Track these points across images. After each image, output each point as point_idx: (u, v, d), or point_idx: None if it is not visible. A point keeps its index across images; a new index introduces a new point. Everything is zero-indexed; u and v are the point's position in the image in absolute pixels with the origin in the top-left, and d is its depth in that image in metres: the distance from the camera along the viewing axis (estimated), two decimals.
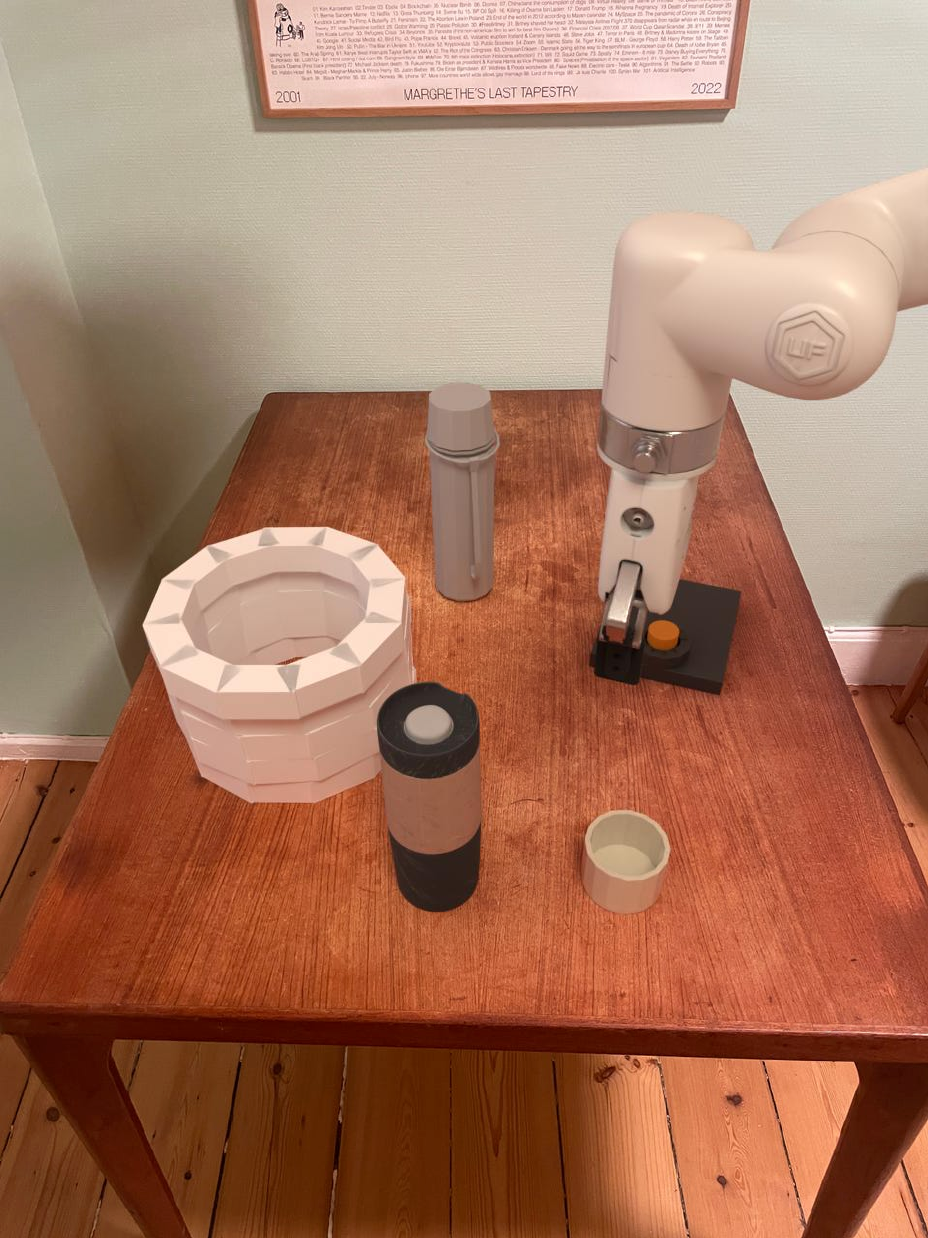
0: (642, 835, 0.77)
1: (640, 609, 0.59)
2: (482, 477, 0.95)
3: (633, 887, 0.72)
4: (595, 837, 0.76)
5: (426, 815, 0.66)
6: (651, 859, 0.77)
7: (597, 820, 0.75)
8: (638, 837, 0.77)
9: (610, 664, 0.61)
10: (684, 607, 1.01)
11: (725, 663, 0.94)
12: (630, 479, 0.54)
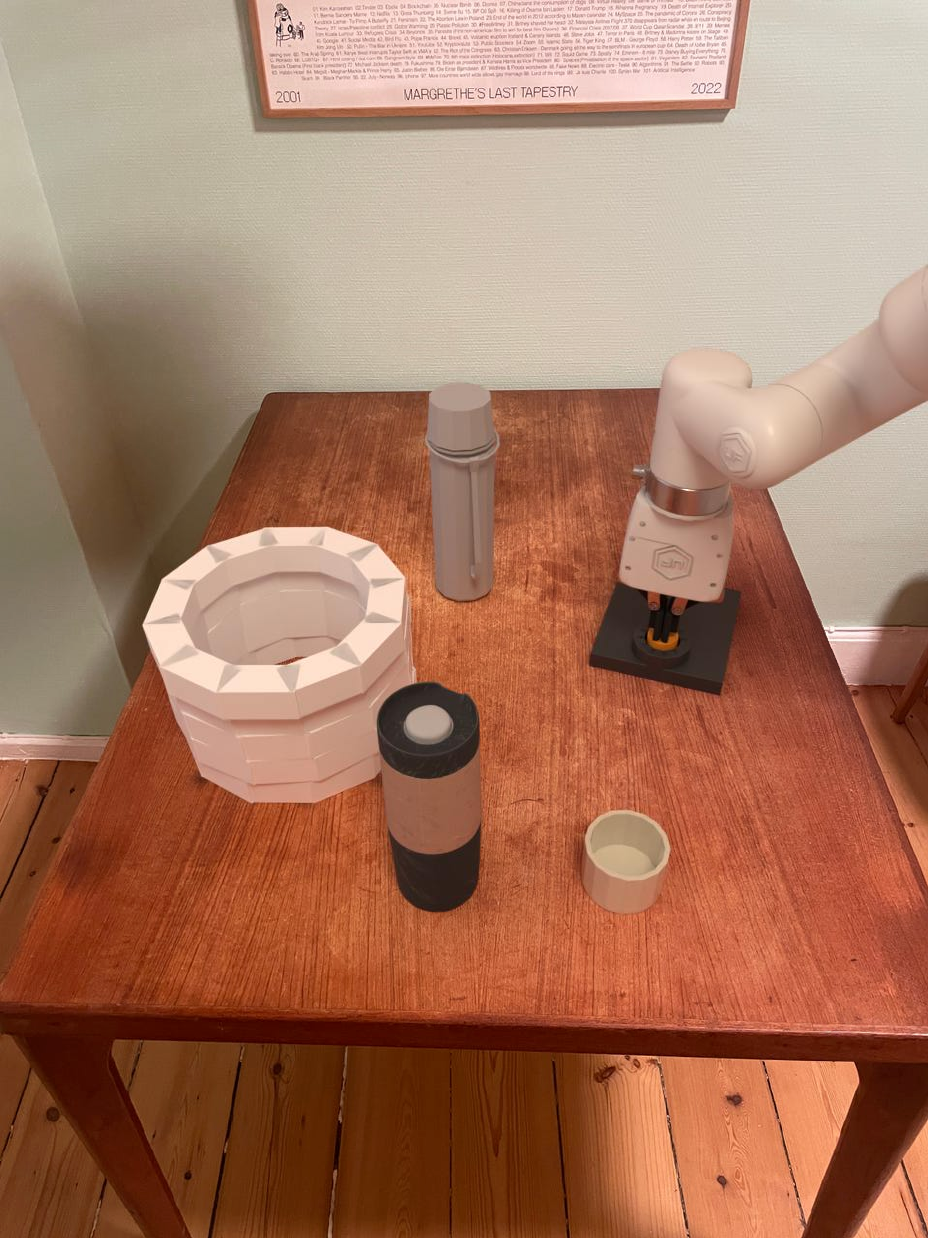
0: (642, 835, 0.77)
1: None
2: (482, 477, 0.95)
3: (633, 887, 0.72)
4: (595, 837, 0.76)
5: (426, 815, 0.66)
6: (651, 859, 0.77)
7: (597, 820, 0.75)
8: (638, 837, 0.77)
9: None
10: None
11: (725, 663, 0.94)
12: (645, 486, 0.85)
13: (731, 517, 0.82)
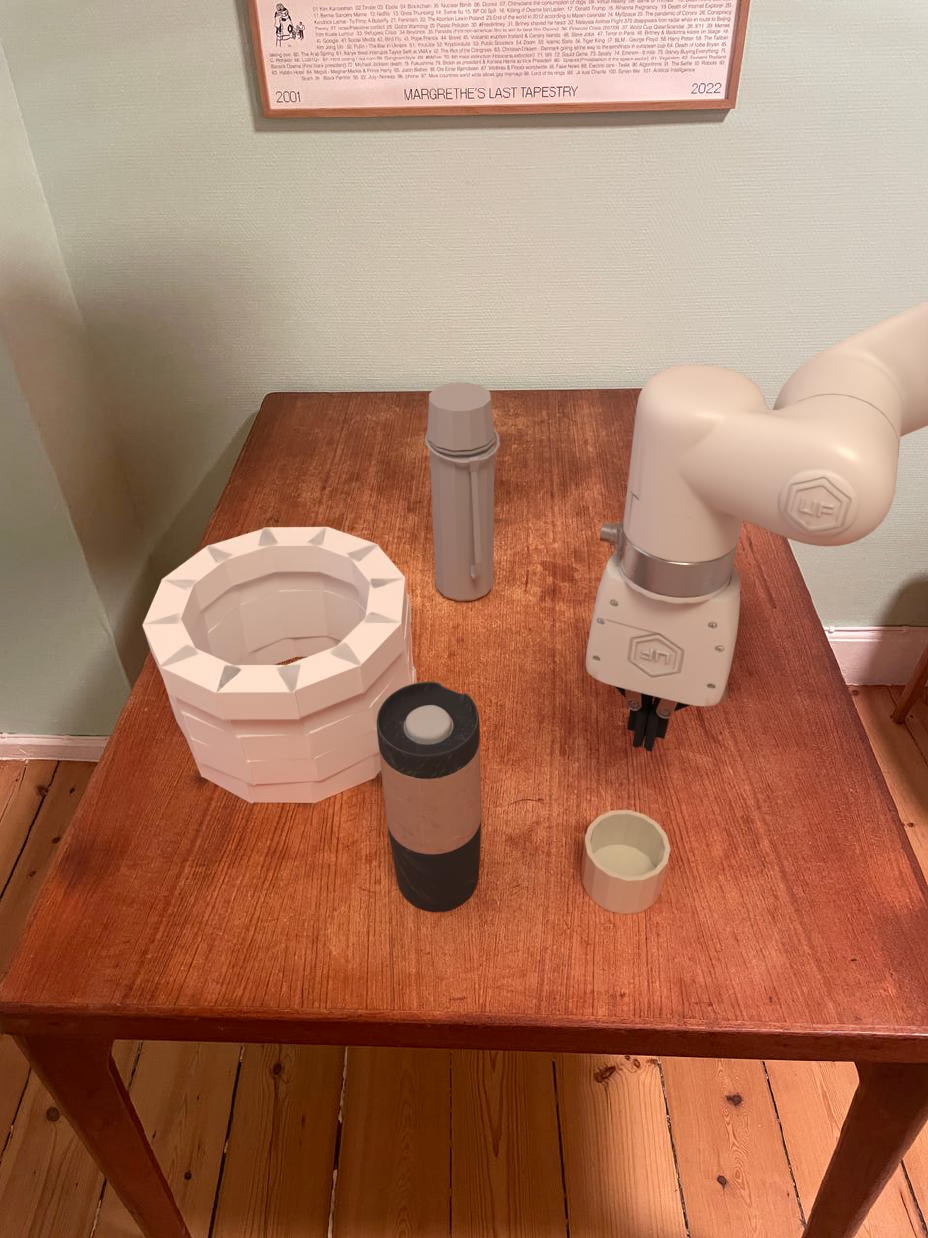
0: (642, 835, 0.77)
1: None
2: (482, 477, 0.95)
3: (633, 887, 0.72)
4: (595, 837, 0.76)
5: (426, 815, 0.66)
6: (651, 859, 0.77)
7: (597, 820, 0.75)
8: (638, 837, 0.77)
9: None
10: None
11: None
12: None
13: (736, 598, 0.59)
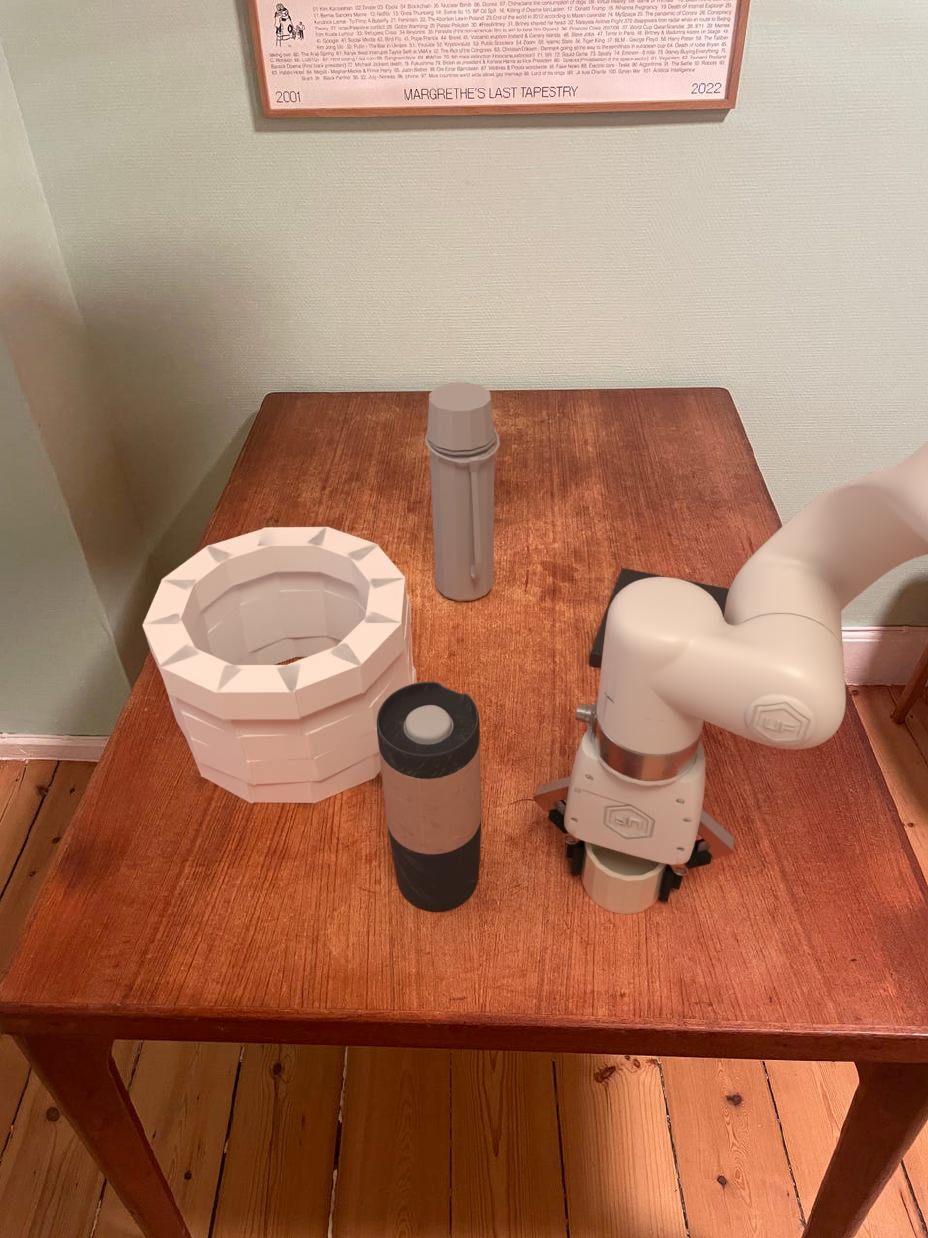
0: None
1: None
2: (482, 477, 0.95)
3: (633, 887, 0.72)
4: None
5: (426, 815, 0.66)
6: None
7: None
8: None
9: None
10: None
11: None
12: None
13: (701, 777, 0.64)
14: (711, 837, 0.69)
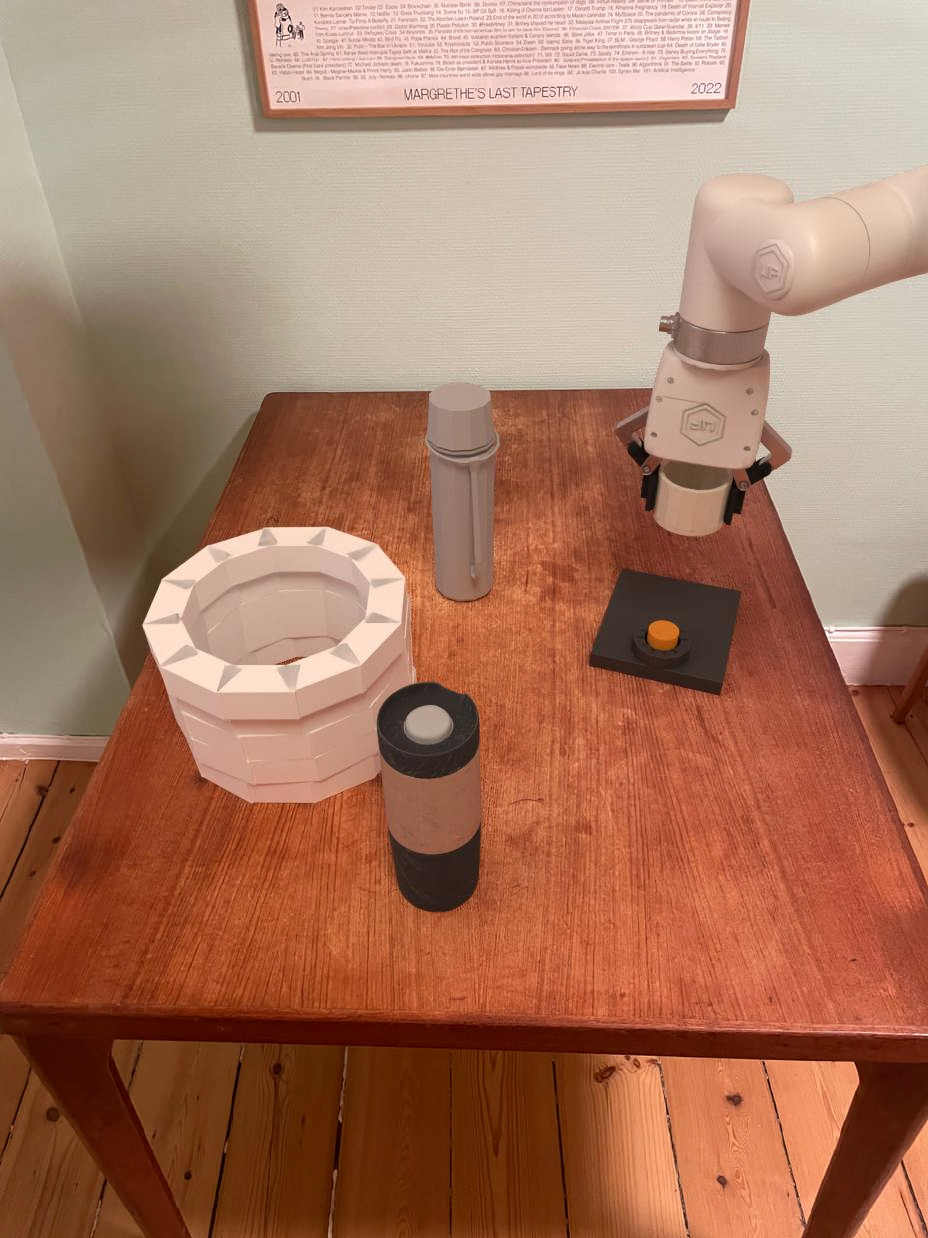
0: (706, 478, 0.88)
1: None
2: (482, 477, 0.95)
3: (703, 501, 0.83)
4: (665, 478, 0.88)
5: (426, 815, 0.66)
6: None
7: None
8: (702, 482, 0.89)
9: None
10: (684, 607, 1.01)
11: (725, 663, 0.94)
12: (672, 342, 0.79)
13: (768, 368, 0.75)
14: (772, 443, 0.80)
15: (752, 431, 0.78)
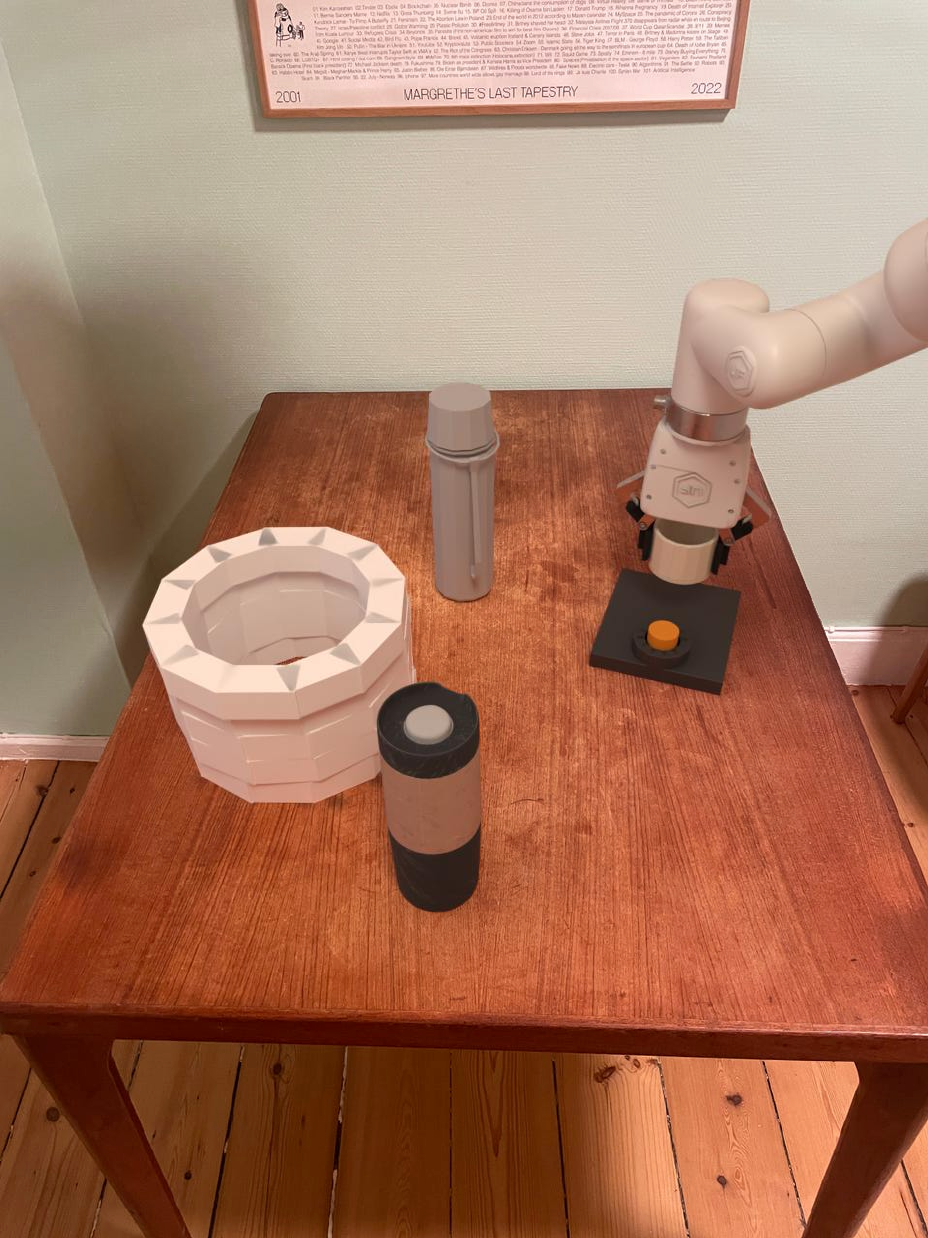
0: (696, 531, 0.99)
1: None
2: (482, 477, 0.95)
3: (692, 555, 0.94)
4: (659, 531, 0.98)
5: (426, 815, 0.66)
6: None
7: None
8: (693, 534, 0.99)
9: None
10: (684, 607, 1.01)
11: (725, 663, 0.94)
12: (665, 417, 0.89)
13: (748, 443, 0.86)
14: (753, 506, 0.91)
15: (735, 497, 0.88)
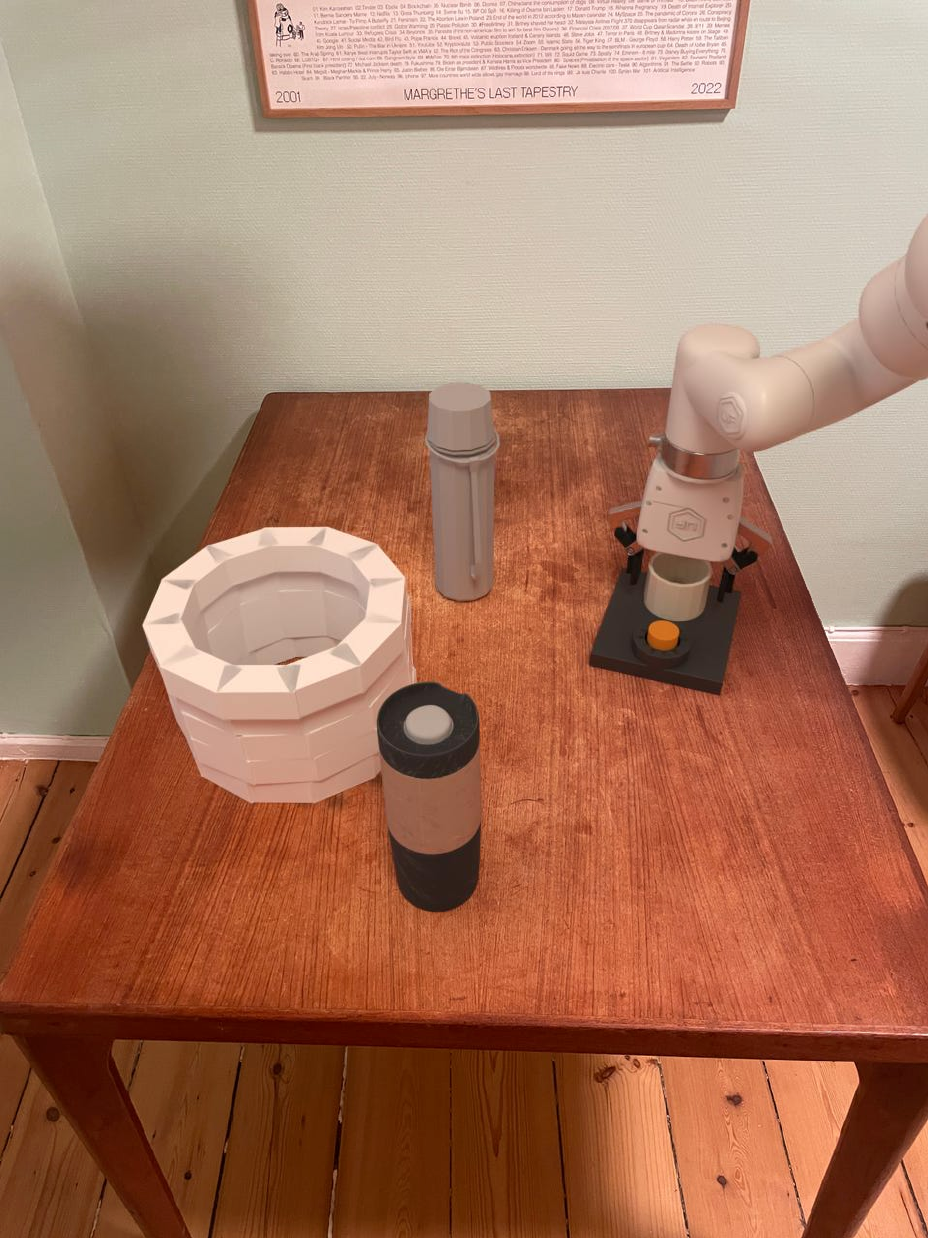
0: (690, 569, 1.02)
1: None
2: (482, 477, 0.95)
3: (685, 593, 0.97)
4: (654, 569, 1.01)
5: (426, 815, 0.66)
6: None
7: (656, 554, 1.01)
8: (686, 572, 1.03)
9: None
10: None
11: (725, 663, 0.94)
12: (660, 454, 0.92)
13: (741, 480, 0.88)
14: (752, 535, 0.93)
15: (728, 531, 0.91)
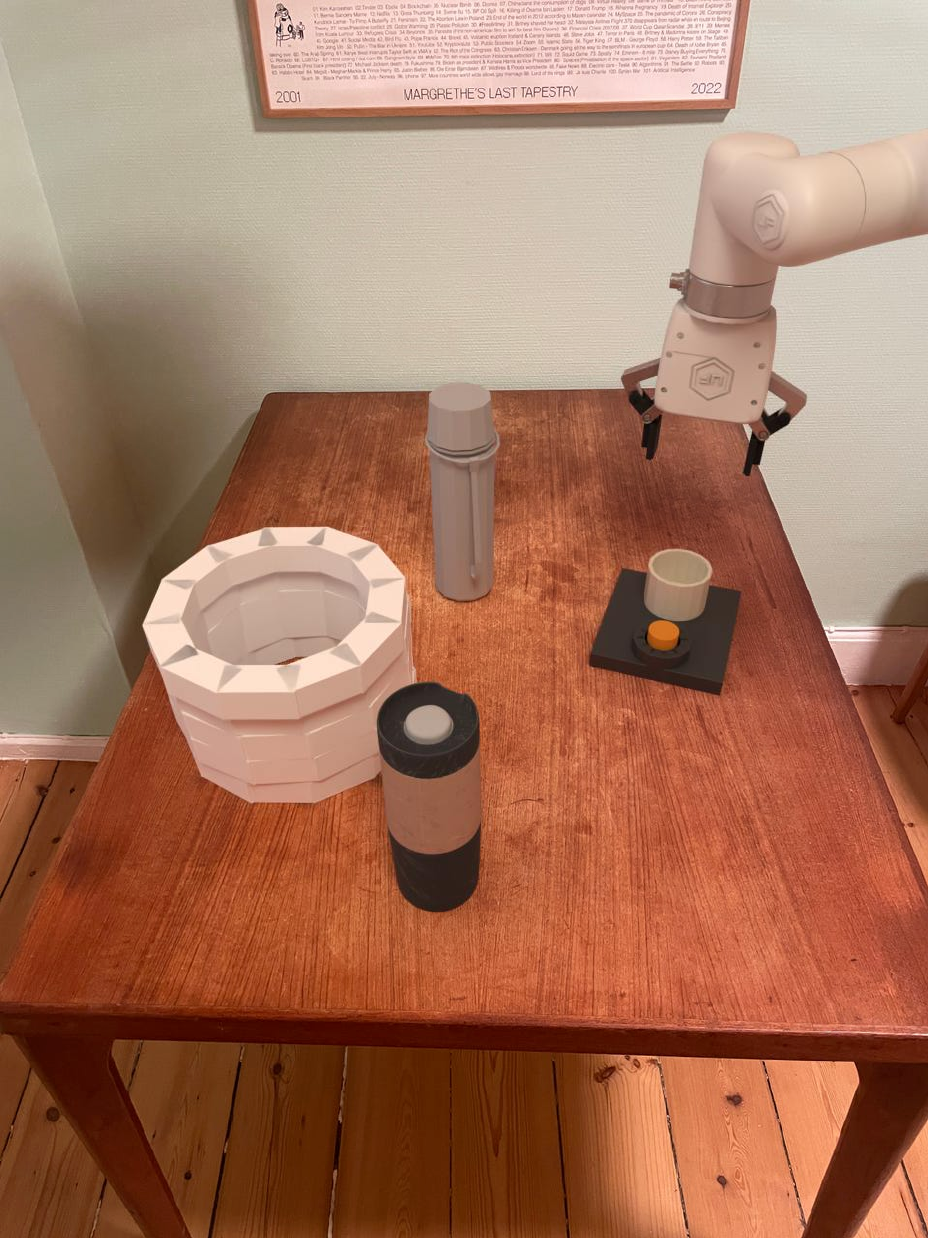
0: (690, 569, 1.02)
1: None
2: (482, 477, 0.95)
3: (685, 593, 0.97)
4: (654, 569, 1.01)
5: (426, 815, 0.66)
6: None
7: (656, 554, 1.01)
8: (686, 572, 1.03)
9: None
10: None
11: (725, 663, 0.94)
12: (682, 299, 0.82)
13: (774, 322, 0.78)
14: (785, 392, 0.82)
15: (759, 385, 0.81)
